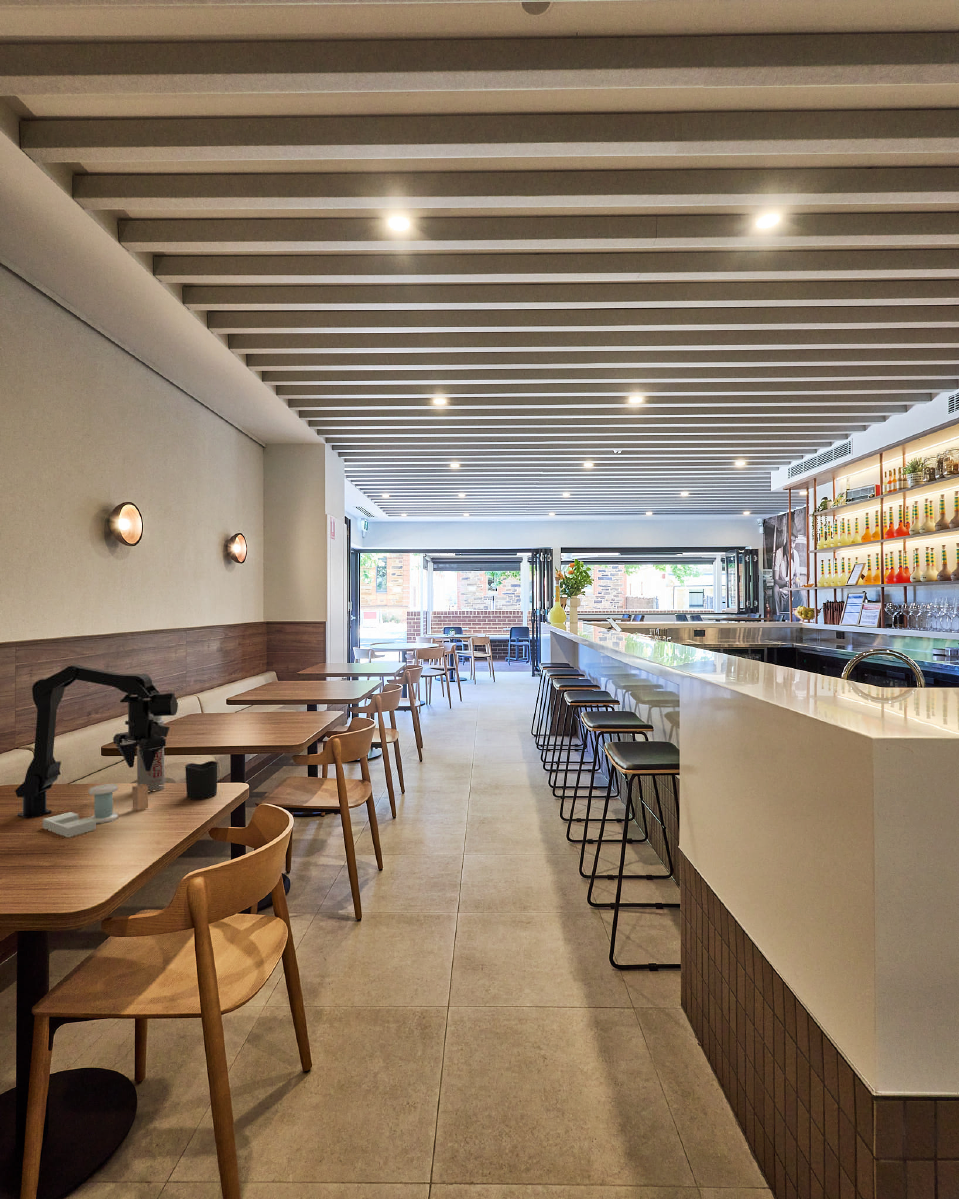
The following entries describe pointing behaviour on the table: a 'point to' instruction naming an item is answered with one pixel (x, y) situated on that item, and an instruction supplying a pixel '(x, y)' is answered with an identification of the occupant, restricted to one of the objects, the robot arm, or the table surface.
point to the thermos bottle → (157, 769)
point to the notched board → (69, 824)
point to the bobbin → (103, 803)
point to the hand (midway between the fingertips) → (139, 769)
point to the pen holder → (201, 780)
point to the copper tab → (140, 797)
